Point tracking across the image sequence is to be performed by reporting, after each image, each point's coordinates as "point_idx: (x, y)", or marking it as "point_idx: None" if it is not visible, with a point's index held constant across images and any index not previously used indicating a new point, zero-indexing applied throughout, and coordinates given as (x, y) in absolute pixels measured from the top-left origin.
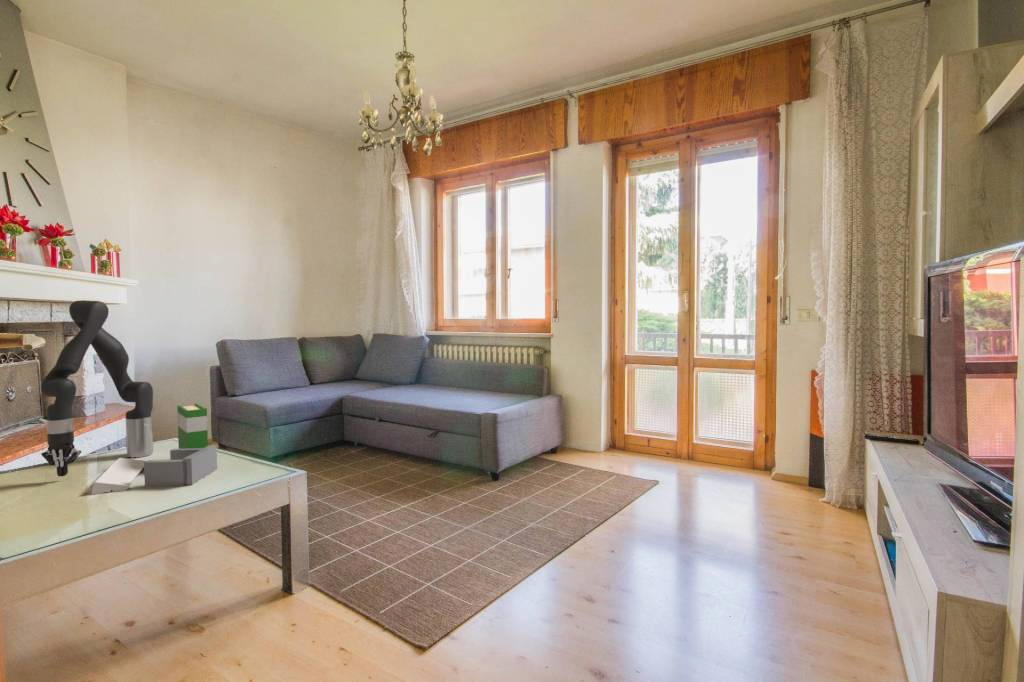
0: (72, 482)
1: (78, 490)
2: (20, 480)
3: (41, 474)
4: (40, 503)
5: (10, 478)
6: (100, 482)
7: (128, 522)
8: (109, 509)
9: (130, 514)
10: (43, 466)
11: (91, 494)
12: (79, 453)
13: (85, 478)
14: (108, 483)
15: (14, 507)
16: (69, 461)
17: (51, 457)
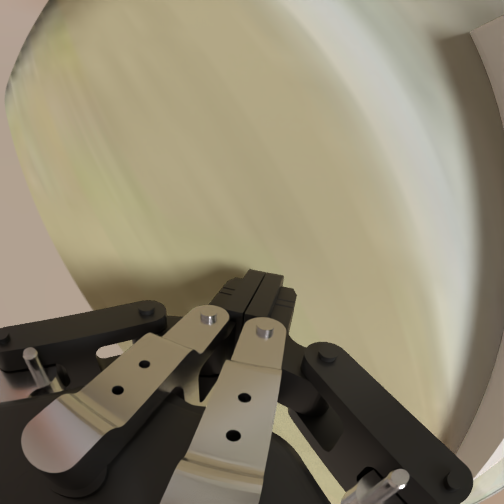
0: (358, 326)
1: None
2: (58, 204)
3: (74, 107)
4: (339, 486)
5: (24, 169)
6: (483, 472)
7: (480, 500)
8: (472, 489)
9: (489, 490)
10: (48, 16)
11: (456, 454)
12: (447, 474)
13: (406, 250)
14: (499, 460)
15: None
16: (335, 432)
17: (89, 373)
